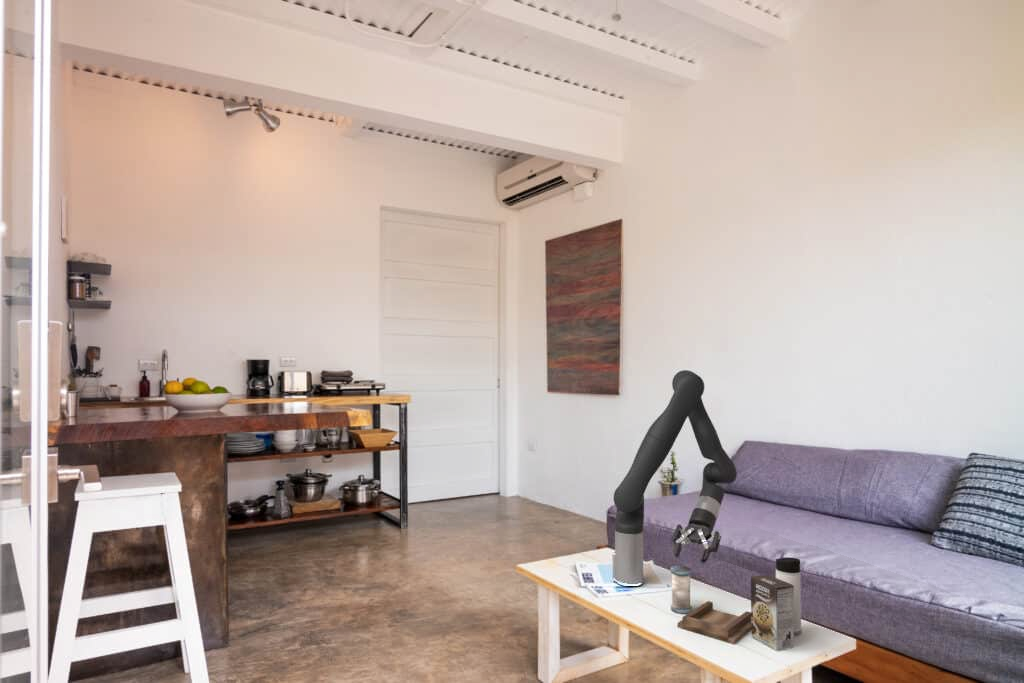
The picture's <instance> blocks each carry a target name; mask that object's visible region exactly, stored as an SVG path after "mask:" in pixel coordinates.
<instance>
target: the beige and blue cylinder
mask: <svg viewBox="0 0 1024 683" xmlns="http://www.w3.org/2000/svg"><path fill="white" fill-rule="evenodd" d="M670 574H671V605H670V610H671V612H673V613H675V614H680V615H686V614H688V613H690V612H691V611H693V607H692V605H691V575H692V574H693V573H692V568H690V567H688V566H682V565H675V566H671V567H670Z"/></svg>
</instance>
